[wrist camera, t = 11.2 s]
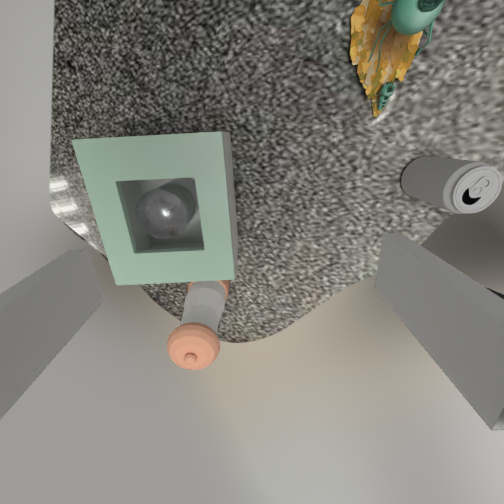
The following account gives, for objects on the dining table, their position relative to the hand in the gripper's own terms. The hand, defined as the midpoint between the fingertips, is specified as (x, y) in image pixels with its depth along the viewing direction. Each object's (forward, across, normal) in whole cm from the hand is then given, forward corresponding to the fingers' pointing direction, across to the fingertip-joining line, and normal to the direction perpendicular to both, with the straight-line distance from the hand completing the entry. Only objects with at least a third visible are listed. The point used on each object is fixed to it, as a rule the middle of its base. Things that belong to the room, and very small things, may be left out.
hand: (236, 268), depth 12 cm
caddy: (+33, -10, -3) cm, 34 cm away
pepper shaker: (+33, -8, -20) cm, 39 cm away
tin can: (+32, -10, -3) cm, 33 cm away
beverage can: (+33, +28, -2) cm, 43 cm away
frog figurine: (+33, +19, +16) cm, 41 cm away
